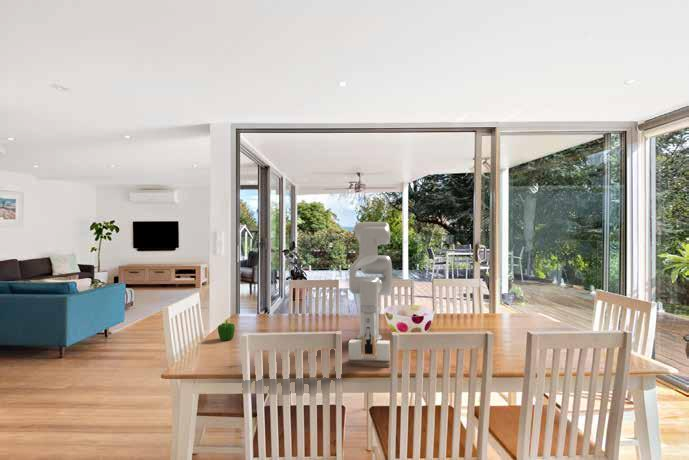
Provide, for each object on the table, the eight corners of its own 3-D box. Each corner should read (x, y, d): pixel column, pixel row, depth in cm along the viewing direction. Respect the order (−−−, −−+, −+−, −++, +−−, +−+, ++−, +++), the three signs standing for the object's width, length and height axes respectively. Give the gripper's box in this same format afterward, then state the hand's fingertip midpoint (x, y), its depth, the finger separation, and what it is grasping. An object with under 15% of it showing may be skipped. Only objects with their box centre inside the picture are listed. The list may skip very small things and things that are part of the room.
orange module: (375, 352, 181) (375, 333, 180) (374, 355, 176) (374, 336, 176) (364, 351, 181) (363, 333, 181) (362, 355, 176) (362, 336, 176)
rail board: (351, 358, 185) (350, 337, 185) (390, 359, 182) (389, 338, 182) (348, 365, 175) (347, 344, 175) (389, 367, 172) (389, 345, 172)
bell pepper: (230, 342, 213) (230, 322, 213) (215, 341, 214) (215, 321, 214) (237, 337, 221) (237, 318, 221) (223, 337, 223) (223, 318, 223)
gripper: (376, 312, 169) (377, 358, 169) (378, 305, 186) (379, 346, 186) (357, 312, 170) (358, 357, 170) (362, 304, 187) (362, 345, 187)
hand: (369, 351), depth 178 cm, fingers closed on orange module, 5 cm apart
